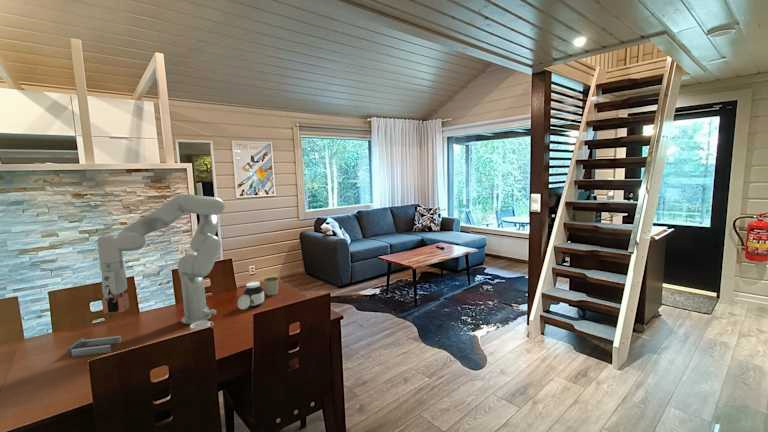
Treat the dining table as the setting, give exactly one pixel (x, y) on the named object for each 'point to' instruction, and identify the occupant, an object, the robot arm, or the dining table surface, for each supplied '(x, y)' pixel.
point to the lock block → (118, 303)
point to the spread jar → (251, 296)
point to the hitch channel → (79, 346)
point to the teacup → (200, 325)
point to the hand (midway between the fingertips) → (116, 309)
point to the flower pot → (271, 285)
